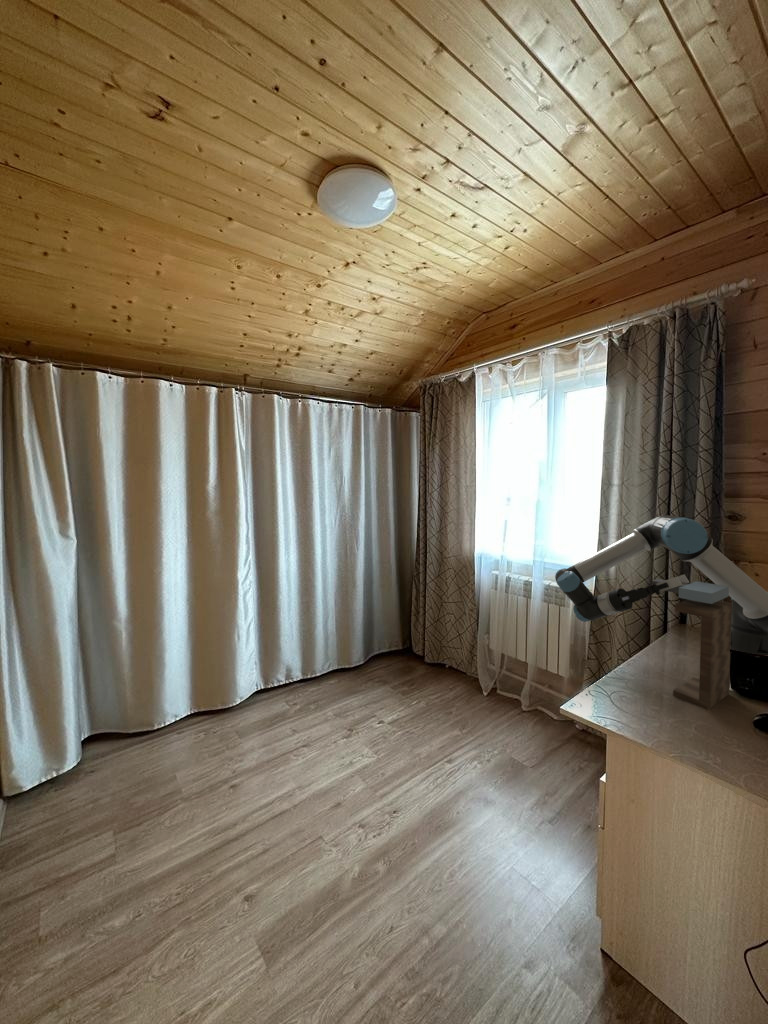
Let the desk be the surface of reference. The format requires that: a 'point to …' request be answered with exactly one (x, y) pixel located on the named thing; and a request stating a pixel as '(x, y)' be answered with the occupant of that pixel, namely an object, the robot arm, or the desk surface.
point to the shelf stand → (709, 653)
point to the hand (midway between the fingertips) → (682, 579)
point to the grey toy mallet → (699, 591)
